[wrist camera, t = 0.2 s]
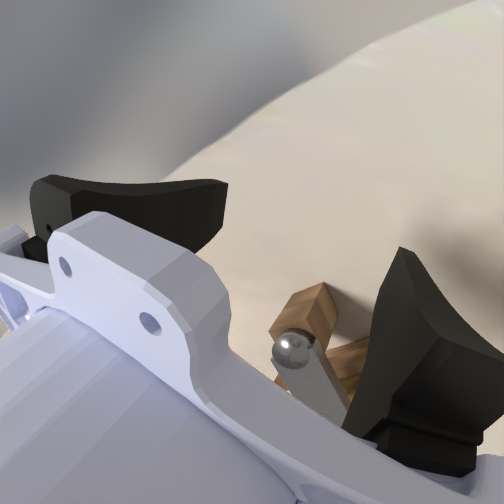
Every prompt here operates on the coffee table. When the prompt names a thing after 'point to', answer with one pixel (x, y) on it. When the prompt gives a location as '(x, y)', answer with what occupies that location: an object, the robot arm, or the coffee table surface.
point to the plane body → (320, 329)
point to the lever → (310, 374)
